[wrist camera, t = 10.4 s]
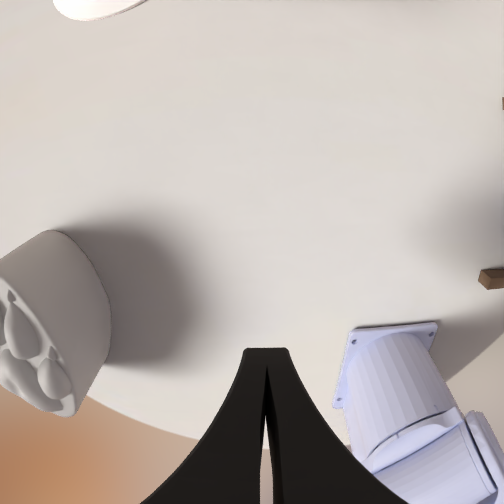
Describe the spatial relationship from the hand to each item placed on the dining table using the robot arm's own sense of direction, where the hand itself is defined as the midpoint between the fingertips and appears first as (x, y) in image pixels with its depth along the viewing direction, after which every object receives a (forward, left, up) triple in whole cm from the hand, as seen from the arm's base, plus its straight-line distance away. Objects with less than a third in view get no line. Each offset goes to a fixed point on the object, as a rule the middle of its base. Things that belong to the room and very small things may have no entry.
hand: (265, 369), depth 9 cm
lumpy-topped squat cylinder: (-5, +17, -11) cm, 21 cm away
